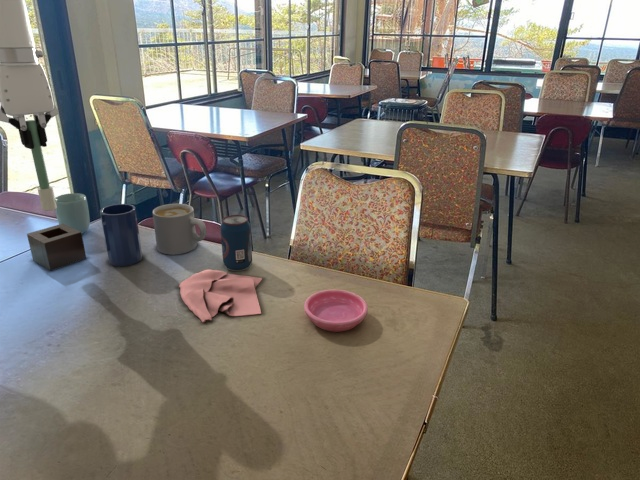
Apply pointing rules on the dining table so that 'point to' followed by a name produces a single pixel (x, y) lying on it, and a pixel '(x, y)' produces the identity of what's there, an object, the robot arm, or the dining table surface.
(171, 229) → the coffee mug
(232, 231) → the soda can
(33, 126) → the brush
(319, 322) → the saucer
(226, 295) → the cloth
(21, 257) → the dining table surface
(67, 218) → the cup
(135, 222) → the tumbler
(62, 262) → the stand
